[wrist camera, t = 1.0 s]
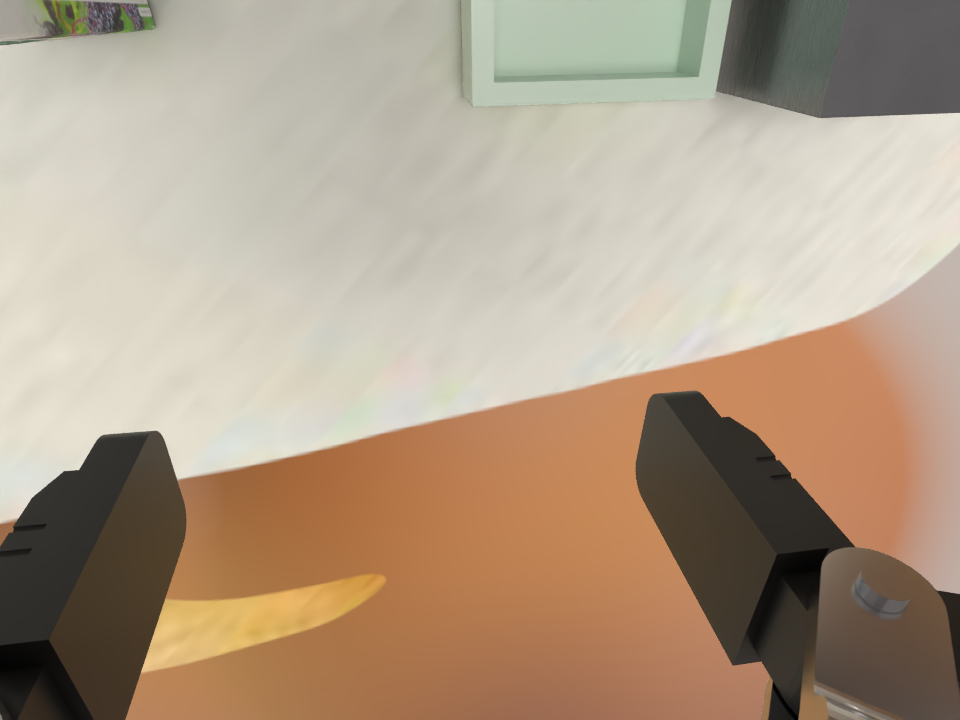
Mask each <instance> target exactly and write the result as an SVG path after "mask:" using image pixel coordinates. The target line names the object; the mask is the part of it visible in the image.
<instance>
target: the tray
mask: <svg viewBox="0 0 960 720" xmlns="http://www.w3.org/2000/svg"><path fill="white" fill-rule="evenodd" d="M731 2H732V0H461V34H462V81H463V97H464V98H465V100H466V101H467V102H468V103H469V104H470V105H471V106H472V107H485V106H516V105H546V104H576V103H607V102H637V101H667V100H698V99H715V93H716V87H717V82H718V76H719V70H720V64H721V59H722V53H723V47H724V42H725V36H726V30H727V24H728V19H729V13H730V7H731Z"/></svg>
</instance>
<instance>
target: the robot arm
mask: <svg viewBox="0 0 960 720" xmlns="http://www.w3.org/2000/svg"><path fill="white" fill-rule="evenodd" d="M636 479H637V485H638V489H639V492H640V494H641V497H642V499H643V501H644V502H645V504H646V506H647V508H648V510H649V512H650V514H651V515H652V517H653V519H654V521H655V523H656V525H657V526H658V528H659V530H660V532H661V534H662V536H663V537H664V539H665V541H666V543H667V545H668V547H669V549H670V550H671V552H672V554H673V556H674V558H675V560H676V562H677V563H678V565H679V567H680V569H681V571H682V573H683V575H684V576H685V578H686V580H687V582H688V584H689V586H690V587H691V589H692V591H693V593H694V595H695V596H696V599H697V600H698V602H699V604H700V606H701V608H702V610H703V611H704V613H705V615H706V617H707V619H708V621H709V623H710V624H711V626H712V628H713V630H714V632H715V634H716V635H717V637H718V639H719V641H720V643H721V645H722V647H723V648H724V650H725V652H726V654H727V656H728V658H729V659H730V661H731V663H732V665H740V664H747V663H753V662H760V661H762V663H763V665H764V666H765V668H766V670H767V671H768V673H769V675H770V678H769V680H768V682H767V685H766V689H765V694H764V702H763V710H762V717H761V720H960V594H955V593H949V592H943V591H937V590H936V589H935V588H934V587H933V586H932V585H931V584H930V583H929V582H928V581H927V580H926V579H925V578H924V577H923V576H922V575H921V574H919V573H918V572H917V571H915V570H914V569H912V568H911V567H910V566H908V565H906V564H904V563H903V562H901V561H899V560H897V559H895V558H893V557H891V556H889V555H886V554H884V553H881V552H878V551H874V550H871V549H865V548H856V547H855V546H854V545H853V544H852V543H851V542H850V541H849V539H848V538H847V537H846V536H845V535H844V534H843V532H842V531H841V530H840V529H839V528H838V527H837V526H836V524H834V522H833V521H832V520H831V519H830V518H829V516H828V515H827V514H826V513H825V512H824V511H823V510H822V509H821V508H820V506H819V505H818V504H817V503H816V502H815V501H814V499H813V498H812V497H811V496H810V495H809V494H808V492H807V491H806V490H805V489H804V488H803V487H802V486H801V484H799V482H798V481H797V480H796V479H792V478H791V473H790V472H789V471H788V470H787V469H786V467H785V466H784V465H783V464H782V463H781V462H780V461H779V460H777V461H776V459H775V455H774V454H773V453H772V451H771V450H770V449H769V448H768V447H767V446H766V445H765V443H764V442H763V441H762V440H761V439H760V438H759V437H758V436H757V434H755V433H754V432H752V431H750V430H749V429H747V428H746V427H744V426H743V425H741V424H740V423H738V422H736V421H735V420H733V419H732V418H730V417H723V418H721V416H720V415H719V414H718V413H717V412H716V410H715V409H714V408H713V407H712V405H711V404H710V403H709V402H708V401H707V399H706V398H705V397H704V396H703V395H702V394H701V393H700V392H698V391H685V392H672V393H659V394H654V395H652V396H651V398H650V399H649V402H648V405H647V410H646V415H645V420H644V425H643V430H642V435H641V440H640V445H639V450H638V455H637V460H636ZM13 528H14V531H13V533H9V534H8V536H7V537H6V539H5V540H4V542H3V543H2V545H1V546H0V720H125V718H126V716H127V713H128V710H129V707H130V704H131V700H132V698H133V694H134V691H135V688H136V685H137V682H138V679H139V676H140V673H141V670H142V667H143V664H144V661H145V658H146V655H147V652H148V649H149V646H150V643H151V640H152V637H153V634H154V631H155V628H156V625H157V622H158V619H159V616H160V613H161V610H162V607H163V604H164V601H165V598H166V595H167V591H168V588H169V585H170V582H171V579H172V576H173V573H174V570H175V567H176V564H177V561H178V558H179V555H180V552H181V549H182V546H183V542H184V539H185V532H186V510H185V504H184V501H183V497H182V494H181V491H180V488H179V485H178V482H177V478H176V475H175V472H174V469H173V466H172V463H171V459H170V456H169V453H168V450H167V447H166V444H165V441H164V439H163V437H162V435H161V434H160V433H159V432H158V431H147V432H134V433H121V434H108V435H103V436H101V437H100V438H99V439H98V440H97V441H96V443H95V444H94V446H93V448H92V449H91V451H90V453H89V454H88V456H87V458H86V459H85V461H84V463H83V464H82V466H81V468H80V470H75V471H64V472H63V473H62V474H60V475H59V476H58V477H57V478H56V479H54V480H53V481H52V482H51V483H49V484H48V485H47V486H46V487H45V488H43V489H42V490H41V491H40V492H39V493H37V494H36V495H35V496H34V497H33V498H32V499H31V501H30V502H29V504H28V505H27V507H26V508H25V510H24V511H23V513H22V514H21V516H20V517H19V519H18V520H17V522H16V523H15V525H14V526H13Z"/></svg>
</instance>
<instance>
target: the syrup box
mask: <svg viewBox="0 0 960 720" xmlns="http://www.w3.org/2000/svg"><path fill="white" fill-rule="evenodd" d="M154 28H155V24H154V21H153V18H152V14H151V11H150V8H149V5H148V2H147V0H0V45H9V44H19V43H28V42H38V41H47V40H57V39H66V38H75V37H86V36H96V35H106V34H115V33H124V32H132V31H141V30H153V29H154Z"/></svg>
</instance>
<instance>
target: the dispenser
mask: <svg viewBox="0 0 960 720" xmlns="http://www.w3.org/2000/svg"><path fill="white" fill-rule="evenodd" d="M716 91H718V92H722V93H726V94H730V95H733V96H737V97H741V98H745V99H749V100H752V101H756V102H760V103H764V104H768V105H772V106H775V107H779V108H783V109H787V110H791V111H795V112H798V113H802V114H806V115H810V116H814V117H818V118H832V117H859V116H885V115H911V114H937V113H960V0H732V2H731V7H730V13H729V19H728V24H727V30H726V36H725V42H724V47H723V53H722V59H721V64H720V70H719V76H718V82H717V87H716Z"/></svg>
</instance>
